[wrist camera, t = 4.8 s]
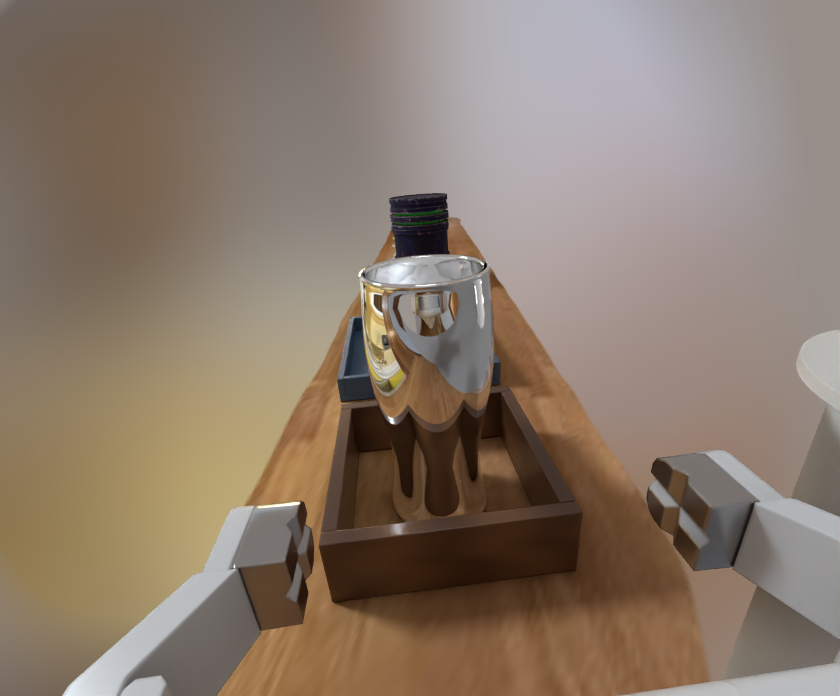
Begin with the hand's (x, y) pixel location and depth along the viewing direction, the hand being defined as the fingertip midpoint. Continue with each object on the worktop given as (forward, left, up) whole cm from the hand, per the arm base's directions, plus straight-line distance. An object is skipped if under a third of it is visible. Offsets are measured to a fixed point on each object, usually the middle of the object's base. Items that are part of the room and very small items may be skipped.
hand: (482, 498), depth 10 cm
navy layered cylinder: (-4, -65, -13) cm, 67 cm away
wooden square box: (0, -13, -13) cm, 18 cm away
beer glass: (0, -13, -13) cm, 18 cm away
